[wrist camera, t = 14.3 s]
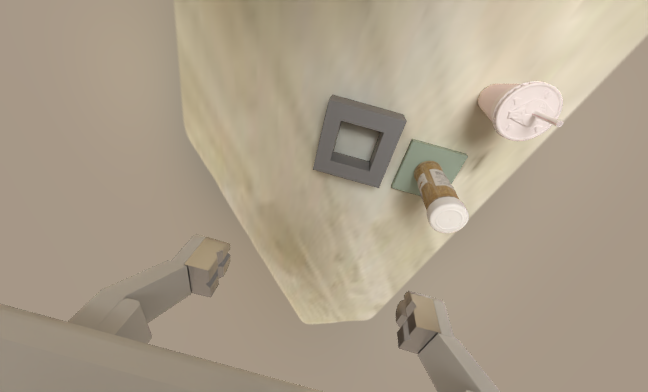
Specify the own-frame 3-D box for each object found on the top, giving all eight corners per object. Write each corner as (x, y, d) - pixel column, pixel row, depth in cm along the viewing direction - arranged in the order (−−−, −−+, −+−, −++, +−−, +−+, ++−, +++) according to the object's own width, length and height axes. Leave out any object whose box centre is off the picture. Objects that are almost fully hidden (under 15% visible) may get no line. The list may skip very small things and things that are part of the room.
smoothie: (511, 118, 37) (578, 154, 25) (463, 121, 38) (506, 157, 26) (524, 70, 33) (609, 84, 21) (471, 75, 35) (524, 91, 23)
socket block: (332, 94, 39) (329, 99, 35) (403, 114, 39) (406, 121, 35) (317, 159, 45) (312, 169, 41) (378, 177, 45) (378, 188, 41)
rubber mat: (412, 138, 40) (413, 140, 39) (465, 153, 40) (467, 156, 39) (391, 185, 45) (391, 187, 44) (439, 198, 45) (440, 201, 44)
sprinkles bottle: (408, 171, 42) (421, 217, 31) (432, 154, 40) (456, 197, 29) (424, 189, 43) (442, 240, 32) (448, 173, 41) (477, 222, 30)
